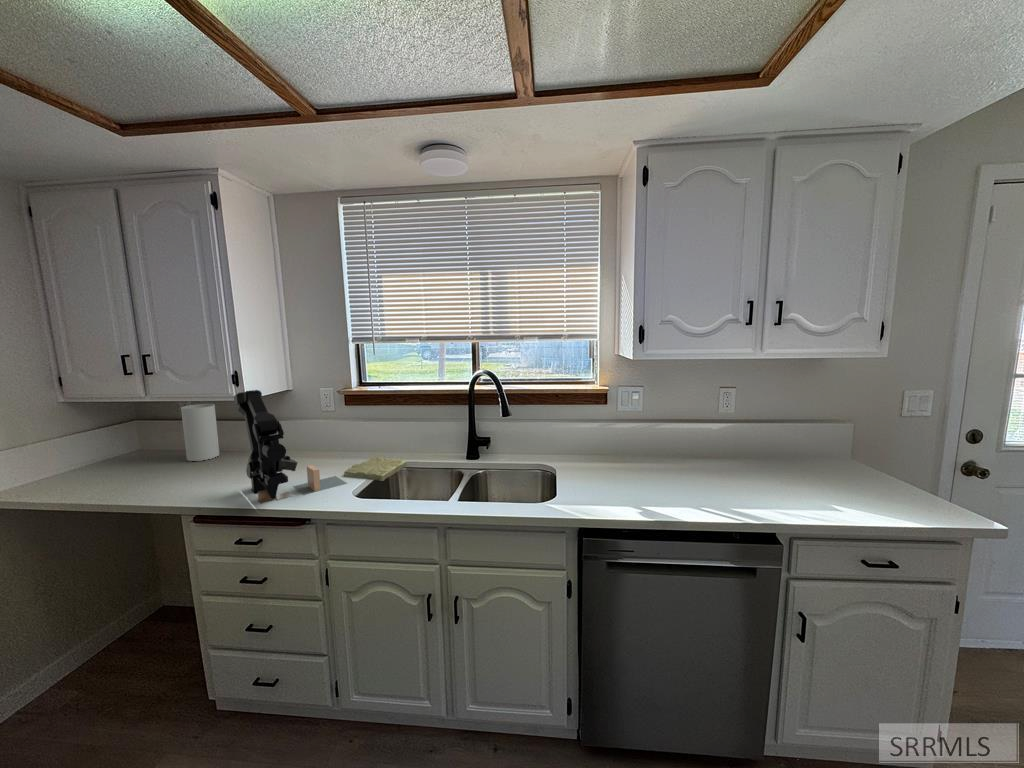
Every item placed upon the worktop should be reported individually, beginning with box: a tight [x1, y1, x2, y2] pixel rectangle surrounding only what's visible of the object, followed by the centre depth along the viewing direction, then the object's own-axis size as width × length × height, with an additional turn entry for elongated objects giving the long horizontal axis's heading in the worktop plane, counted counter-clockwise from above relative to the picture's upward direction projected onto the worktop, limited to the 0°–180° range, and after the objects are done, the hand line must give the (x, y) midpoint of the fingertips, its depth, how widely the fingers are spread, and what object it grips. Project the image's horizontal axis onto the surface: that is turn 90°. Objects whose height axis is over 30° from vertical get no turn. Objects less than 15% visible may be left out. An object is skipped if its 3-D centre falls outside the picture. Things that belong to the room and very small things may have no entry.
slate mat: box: [292, 475, 348, 496], centre depth 158 cm, size 16×12×1 cm
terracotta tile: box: [306, 464, 321, 492], centre depth 154 cm, size 2×7×8 cm, turn 44°
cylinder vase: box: [180, 403, 220, 462], centre depth 194 cm, size 12×12×25 cm
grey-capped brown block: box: [257, 490, 294, 504], centre depth 146 cm, size 10×5×4 cm, turn 134°
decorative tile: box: [343, 457, 408, 482], centre depth 175 cm, size 19×20×4 cm
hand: (272, 497), depth 145 cm, fingers closed on grey-capped brown block, 2 cm apart
